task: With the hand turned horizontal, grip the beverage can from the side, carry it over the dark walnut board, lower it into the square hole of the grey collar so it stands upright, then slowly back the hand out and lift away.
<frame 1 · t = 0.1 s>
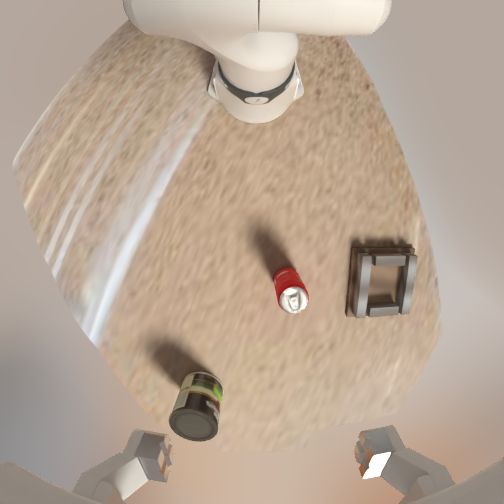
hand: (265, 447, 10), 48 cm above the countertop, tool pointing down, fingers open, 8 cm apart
socket block: (380, 281, 58), on the countertop
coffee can: (202, 387, 64), on the countertop
beverage can: (286, 278, 59), on the countertop
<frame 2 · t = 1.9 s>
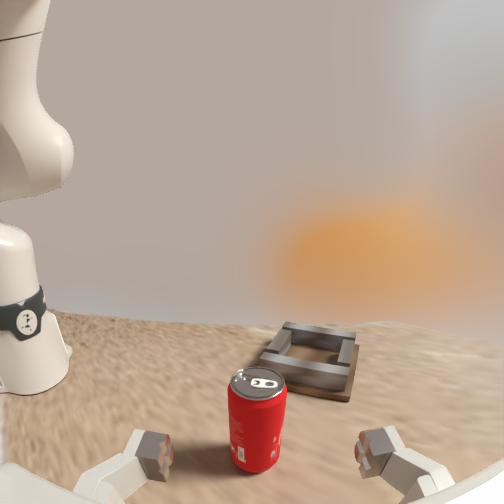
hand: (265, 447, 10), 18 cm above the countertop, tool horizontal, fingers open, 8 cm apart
socket block: (310, 365, 44), on the countertop
beverage can: (254, 459, 26), on the countertop
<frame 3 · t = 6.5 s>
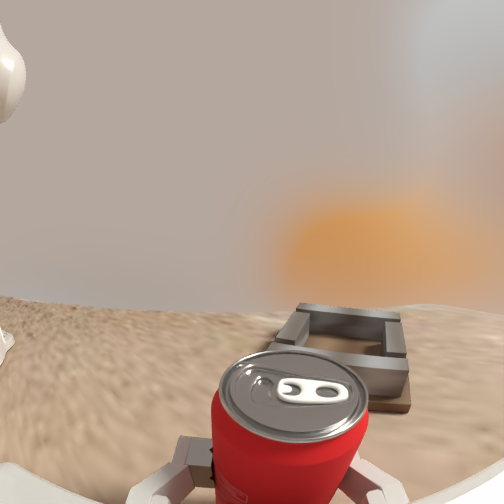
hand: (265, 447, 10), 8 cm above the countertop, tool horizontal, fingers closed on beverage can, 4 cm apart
socket block: (340, 362, 29), on the countertop
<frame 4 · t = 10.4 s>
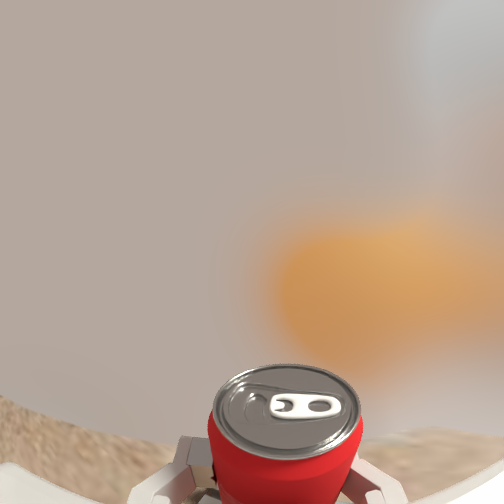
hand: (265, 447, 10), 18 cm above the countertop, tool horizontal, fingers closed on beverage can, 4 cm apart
when the fingers open (9 cm above the countertop, at t = 14.1 s): beverage can moves 1 cm, resting on socket block.
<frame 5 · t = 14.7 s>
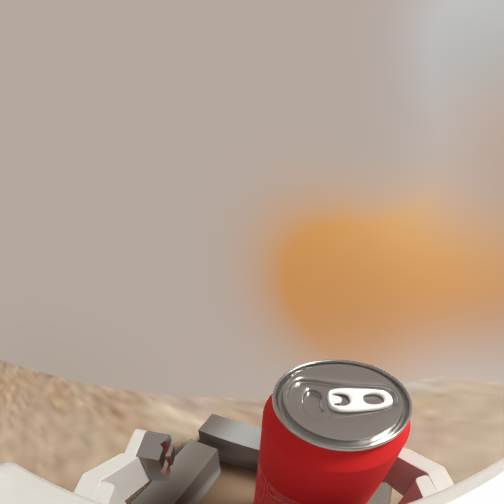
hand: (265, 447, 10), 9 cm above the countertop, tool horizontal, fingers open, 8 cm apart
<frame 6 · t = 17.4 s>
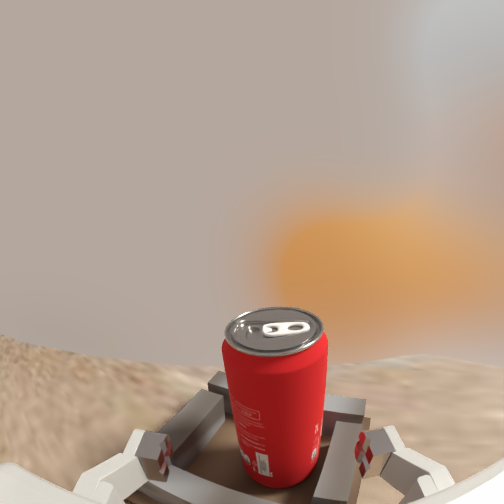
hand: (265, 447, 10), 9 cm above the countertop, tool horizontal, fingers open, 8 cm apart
socket block: (259, 471, 17), on the countertop
beverage can: (280, 467, 16), point 1 cm above the countertop, touching socket block
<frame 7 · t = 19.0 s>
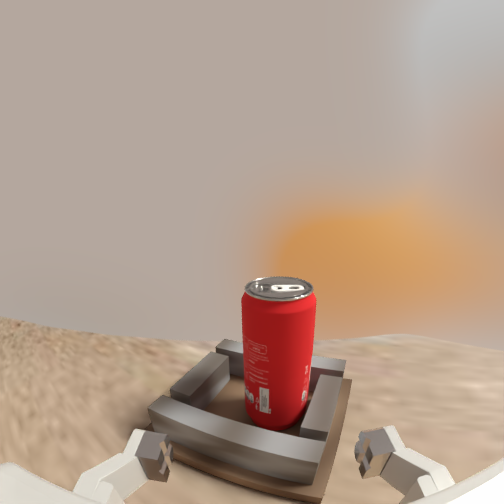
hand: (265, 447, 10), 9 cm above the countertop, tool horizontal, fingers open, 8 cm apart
socket block: (258, 419, 23), on the countertop
beverage can: (275, 415, 22), point 1 cm above the countertop, touching socket block
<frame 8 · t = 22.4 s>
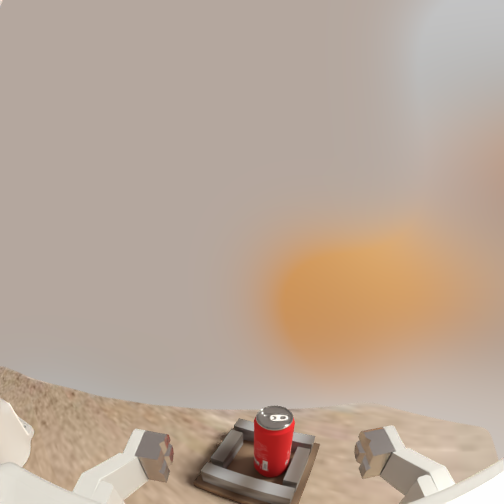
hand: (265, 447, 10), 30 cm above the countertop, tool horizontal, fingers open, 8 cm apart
socket block: (260, 468, 35), on the countertop
beverage can: (270, 467, 35), point 1 cm above the countertop, touching socket block
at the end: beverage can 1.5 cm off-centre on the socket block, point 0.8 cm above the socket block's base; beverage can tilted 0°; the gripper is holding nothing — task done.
